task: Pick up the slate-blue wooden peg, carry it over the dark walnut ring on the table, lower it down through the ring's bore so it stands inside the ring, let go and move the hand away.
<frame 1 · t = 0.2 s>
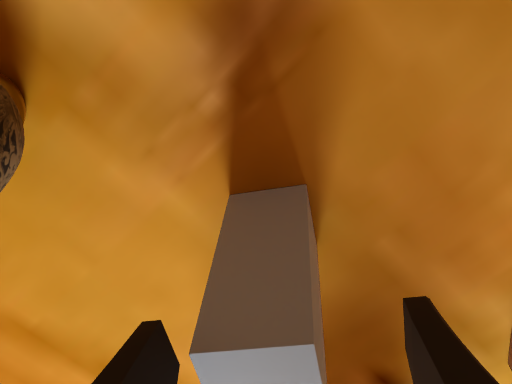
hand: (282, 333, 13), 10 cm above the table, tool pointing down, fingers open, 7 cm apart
slate peg: (274, 221, 23), on the table
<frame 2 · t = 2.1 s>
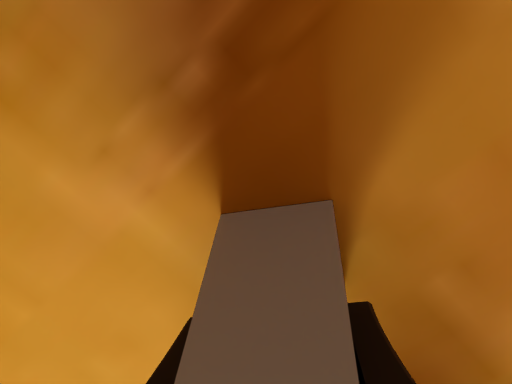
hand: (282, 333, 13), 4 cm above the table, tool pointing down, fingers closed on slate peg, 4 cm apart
slate peg: (284, 252, 16), on the table, touching gripper
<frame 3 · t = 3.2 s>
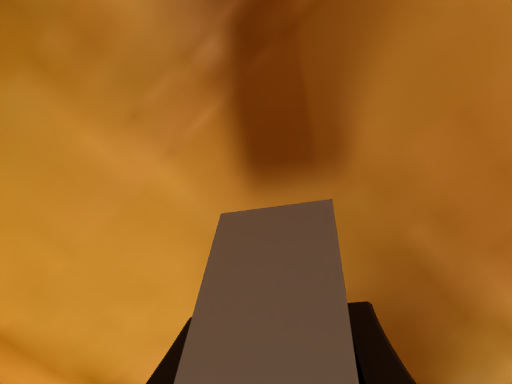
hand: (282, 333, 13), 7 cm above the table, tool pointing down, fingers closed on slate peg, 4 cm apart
slate peg: (284, 251, 16), point 3 cm above the table, touching gripper
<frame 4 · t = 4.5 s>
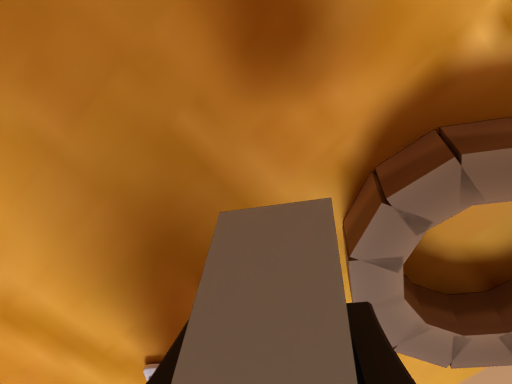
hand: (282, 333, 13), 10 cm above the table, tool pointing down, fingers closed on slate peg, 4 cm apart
walnut ring: (469, 237, 23), on the table
slate peg: (283, 250, 16), point 6 cm above the table, touching gripper
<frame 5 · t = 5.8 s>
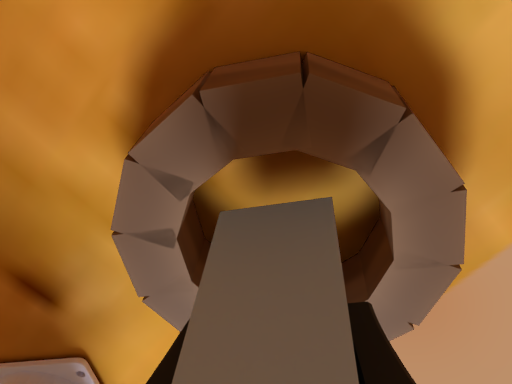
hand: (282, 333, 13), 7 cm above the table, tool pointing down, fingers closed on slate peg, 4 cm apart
walnut ring: (285, 207, 19), on the table
slate peg: (284, 249, 16), point 3 cm above the table, touching gripper
when the fingers open (5 cm above the table, at t = 6.9 s): slate peg drops 1 cm, resting in walnut ring.
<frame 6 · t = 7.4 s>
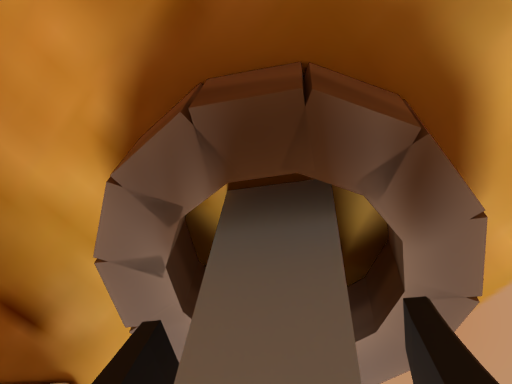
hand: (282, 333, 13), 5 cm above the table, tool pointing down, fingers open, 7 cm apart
walnut ring: (285, 229, 17), on the table
slate peg: (286, 227, 17), resting in walnut ring
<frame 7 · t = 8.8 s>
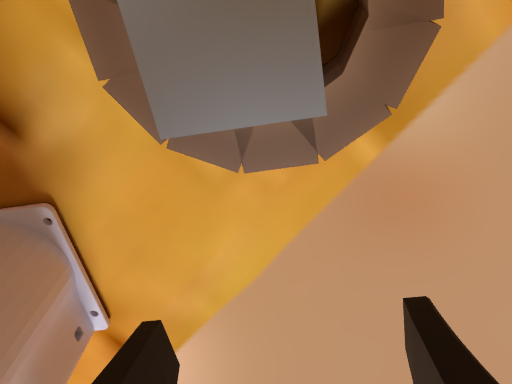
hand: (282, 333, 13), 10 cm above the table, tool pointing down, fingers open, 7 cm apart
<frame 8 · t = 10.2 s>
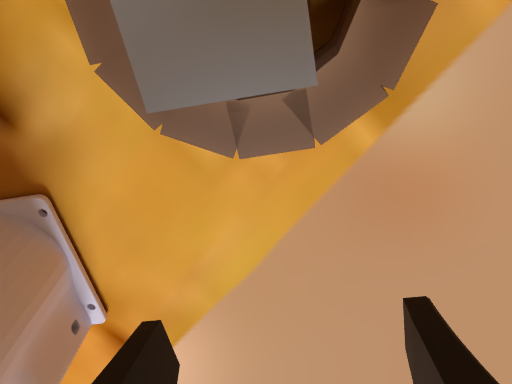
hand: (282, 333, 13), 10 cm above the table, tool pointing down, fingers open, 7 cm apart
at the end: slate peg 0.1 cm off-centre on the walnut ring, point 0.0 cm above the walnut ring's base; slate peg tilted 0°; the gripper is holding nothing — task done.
